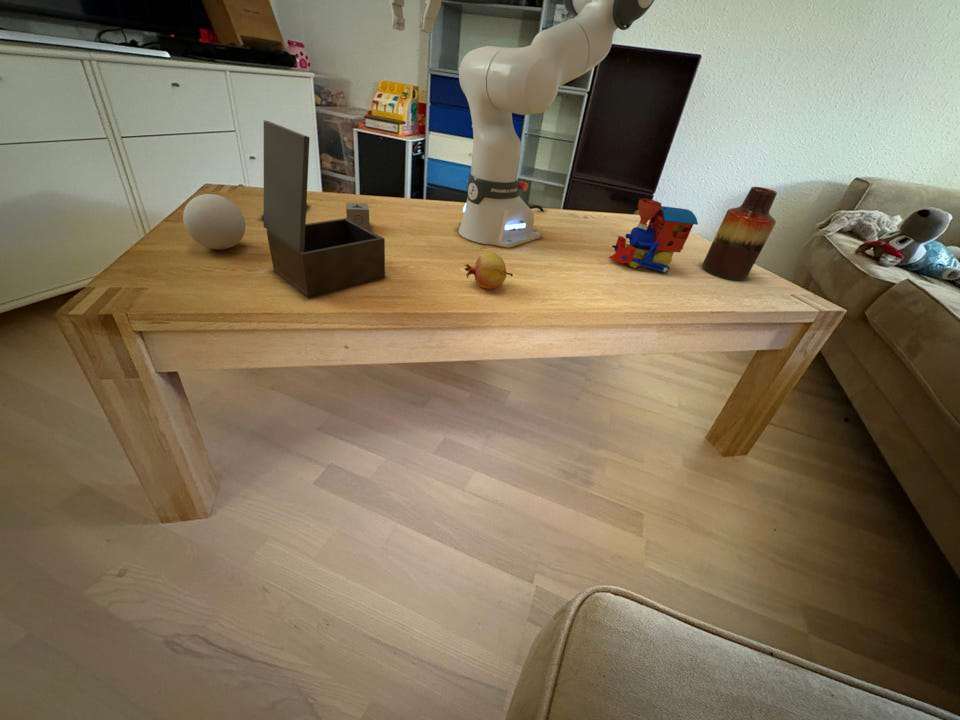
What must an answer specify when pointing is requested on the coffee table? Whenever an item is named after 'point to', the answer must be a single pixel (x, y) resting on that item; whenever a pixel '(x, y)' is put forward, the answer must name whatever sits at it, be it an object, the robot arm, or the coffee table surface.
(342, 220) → the box
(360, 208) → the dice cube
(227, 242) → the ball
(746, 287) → the coffee table surface
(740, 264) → the vase
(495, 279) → the fruit
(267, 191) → the lid
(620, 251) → the toy train
